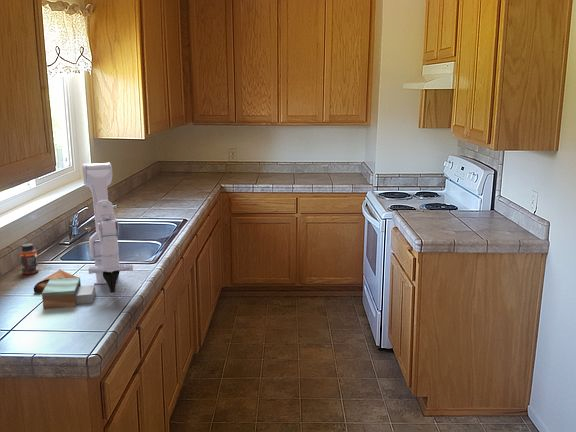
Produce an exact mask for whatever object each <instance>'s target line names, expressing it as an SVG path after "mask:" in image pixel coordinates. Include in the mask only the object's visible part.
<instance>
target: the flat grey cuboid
mask: <svg viewBox="0 0 576 432" xmlns="http://www.w3.org/2000/svg"><path fill="white" fill-rule="evenodd" d="M95 296H96V284H93V285H92V284H91V285H90V284H89V285H81V286H78V287H77V289H76V291H75V297H76V305H80V304H81V305H82V304H93V302H94V299H95Z"/></svg>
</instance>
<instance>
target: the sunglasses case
mask: <svg viewBox="0 0 576 432" xmlns="http://www.w3.org/2000/svg"><path fill="white" fill-rule="evenodd" d="M78 277H79V276H76V275H73V274H72V273H69V272H67V271H64V270H62V269H61V268H59V270H57V271H55V272H53V273H52V274H50V275H49V276H47V277H46V278H44V279H43V280H40V281H39V282H37V283H36V284H35V285H34V287H33V293H35V294H42V292H43V290H44V289H45V287H46V285H47V283H48V282H49V280H50V279H63V278H78Z"/></svg>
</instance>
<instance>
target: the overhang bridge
mask: <svg viewBox="0 0 576 432" xmlns="http://www.w3.org/2000/svg"><path fill="white" fill-rule="evenodd" d="M77 277H78V278H63V279H50V280H49V282H48V283H47V285H46V287H45V289H44V290H43V292H42V293H41V299H42V306H43V308H42V309H43V310H46V309H58V308H69V307H70V308H73V307H74V308H75V307H76V306H77V304H76V297H75V291H76V289H77V287H78V286H82V285H81V277H79V276H77Z"/></svg>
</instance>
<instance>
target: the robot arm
mask: <svg viewBox="0 0 576 432" xmlns="http://www.w3.org/2000/svg"><path fill="white" fill-rule="evenodd" d="M81 168H82V170H81V171H82V178H83V184H84V187H86V188H89V189H90V191H91V195H92V205H93V214H94V224H95V232H94V233H93V234H92V235H91V236H89V238H88V239H89V240H88V241H89V244H88V246H89V255H90V258H92V259H94V266H89V267H88V269H87V270H88V275H92V274H95V279H94V282H93V285H101V284H102V285H103V284H107V286H108V289H109V292H110V293H114V294H115V292H116V285H117V282H118V279H119V275H120V272H133V271H134V264H133V263H132V264H131V263H128V264H127V263H120V257H119V256H120V254H119V253H120V252H119V241H118V240H119V238H118V236H119V234H120V233H119V232H120V230H119V221H118V218H117V216H115V210H114V204H113V203H112V202H111V201H110V200H109V193H108V186H111V183H112V180H113V167H112V164H111V163H110V162H103V163H83V164H82V166H81Z"/></svg>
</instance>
